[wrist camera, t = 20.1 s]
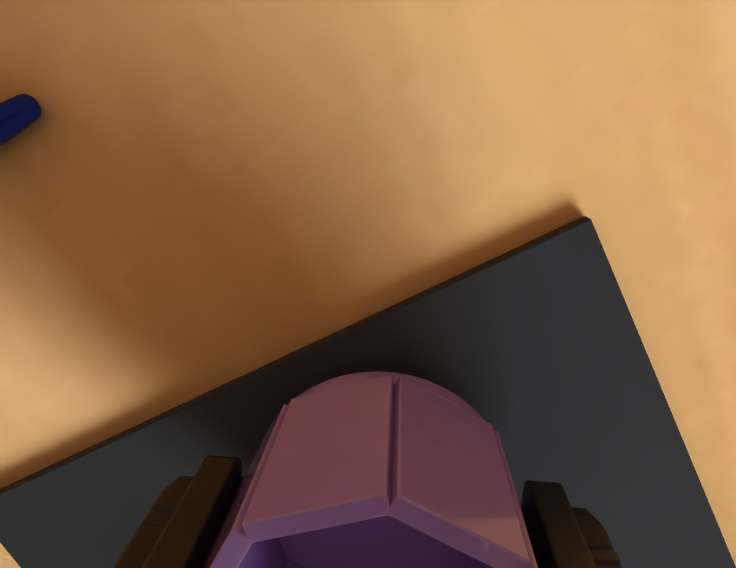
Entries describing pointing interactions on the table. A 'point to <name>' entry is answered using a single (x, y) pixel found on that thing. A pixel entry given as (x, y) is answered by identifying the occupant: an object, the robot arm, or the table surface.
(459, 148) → the table surface
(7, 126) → the ballpoint pen
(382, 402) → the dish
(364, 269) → the table surface
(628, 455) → the mat
